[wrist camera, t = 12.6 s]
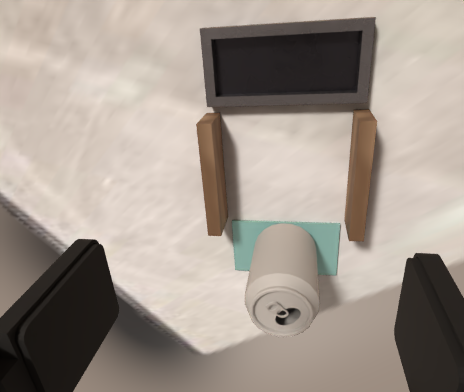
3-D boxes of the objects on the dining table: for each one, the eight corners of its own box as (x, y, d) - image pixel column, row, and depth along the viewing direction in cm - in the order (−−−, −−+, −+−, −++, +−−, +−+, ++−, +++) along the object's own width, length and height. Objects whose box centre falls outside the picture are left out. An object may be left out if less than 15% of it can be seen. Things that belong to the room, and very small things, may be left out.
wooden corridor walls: (369, 109, 37) (377, 121, 33) (357, 220, 43) (363, 241, 39) (206, 113, 40) (196, 124, 36) (216, 216, 46) (208, 235, 42)
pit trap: (372, 16, 34) (375, 17, 32) (364, 99, 37) (367, 102, 36) (203, 27, 37) (199, 28, 35) (210, 103, 40) (207, 106, 39)
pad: (339, 223, 44) (340, 224, 43) (335, 273, 47) (336, 275, 47) (232, 220, 46) (231, 221, 46) (235, 268, 49) (235, 270, 49)
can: (283, 279, 48) (278, 354, 38) (243, 242, 47) (226, 310, 36) (328, 248, 45) (337, 321, 35) (287, 208, 44) (282, 271, 33)
